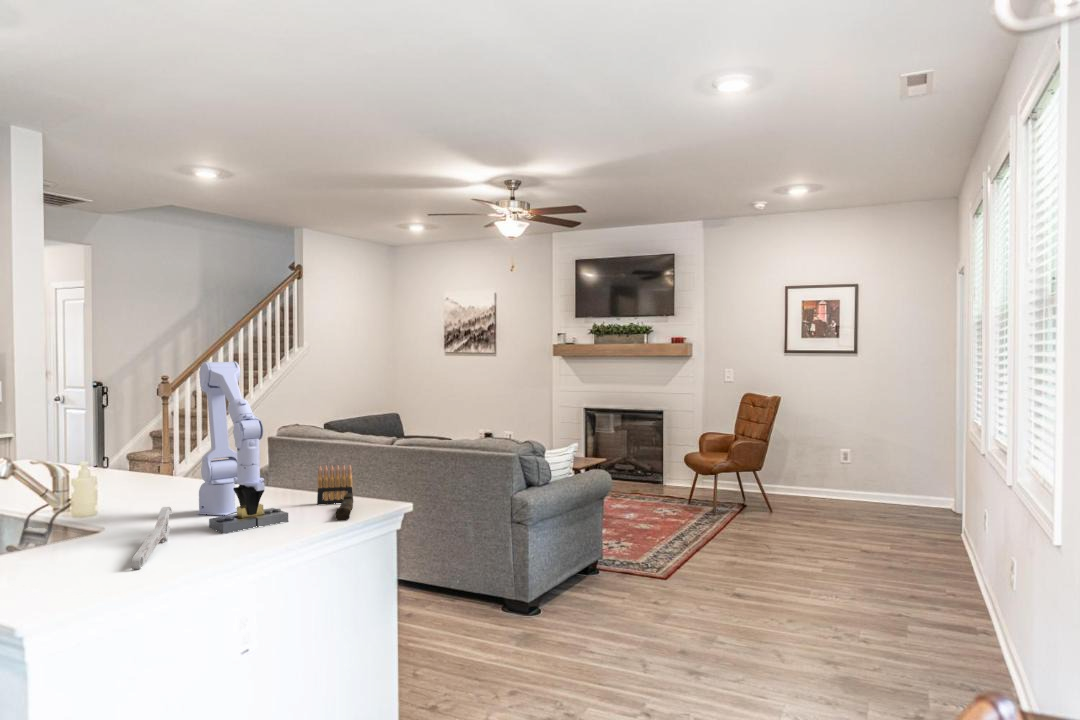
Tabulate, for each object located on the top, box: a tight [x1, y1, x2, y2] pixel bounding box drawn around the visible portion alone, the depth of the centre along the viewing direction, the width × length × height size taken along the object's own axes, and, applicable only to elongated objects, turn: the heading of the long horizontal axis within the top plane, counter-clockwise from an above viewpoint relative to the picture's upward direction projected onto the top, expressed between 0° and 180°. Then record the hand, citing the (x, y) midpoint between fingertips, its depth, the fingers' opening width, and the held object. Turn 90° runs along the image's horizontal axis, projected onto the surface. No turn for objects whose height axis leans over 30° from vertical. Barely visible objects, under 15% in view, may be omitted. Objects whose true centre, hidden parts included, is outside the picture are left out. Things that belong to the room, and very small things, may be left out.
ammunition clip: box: [316, 463, 354, 505], centre depth 232 cm, size 11×2×12 cm, turn 102°
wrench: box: [131, 506, 173, 570], centre depth 179 cm, size 8×2×30 cm
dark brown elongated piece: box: [334, 493, 354, 522], centre depth 219 cm, size 19×4×5 cm, turn 6°
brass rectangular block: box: [236, 503, 264, 519], centre depth 205 cm, size 6×3×5 cm, turn 136°
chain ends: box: [208, 507, 289, 534], centre depth 205 cm, size 18×9×3 cm, turn 136°
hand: (249, 513), depth 205 cm, fingers closed on brass rectangular block, 3 cm apart
